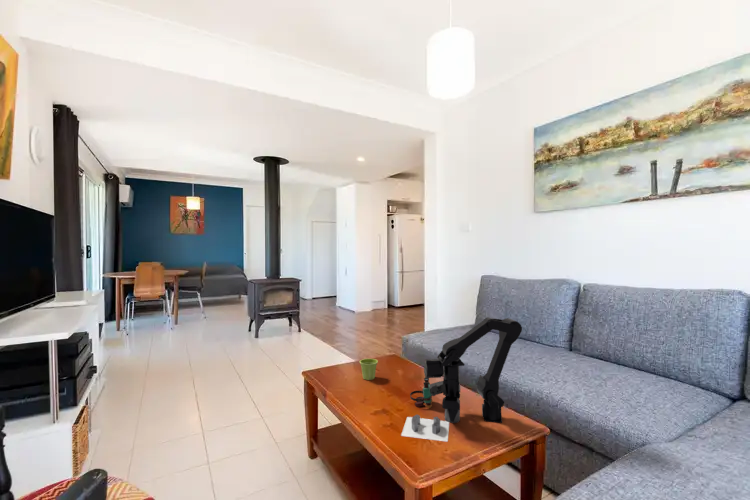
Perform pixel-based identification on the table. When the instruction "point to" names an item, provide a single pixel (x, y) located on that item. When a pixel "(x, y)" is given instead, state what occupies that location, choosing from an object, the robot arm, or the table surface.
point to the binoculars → (426, 393)
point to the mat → (426, 430)
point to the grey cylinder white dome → (449, 417)
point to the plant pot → (368, 368)
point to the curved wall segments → (434, 426)
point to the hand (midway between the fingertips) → (452, 417)
